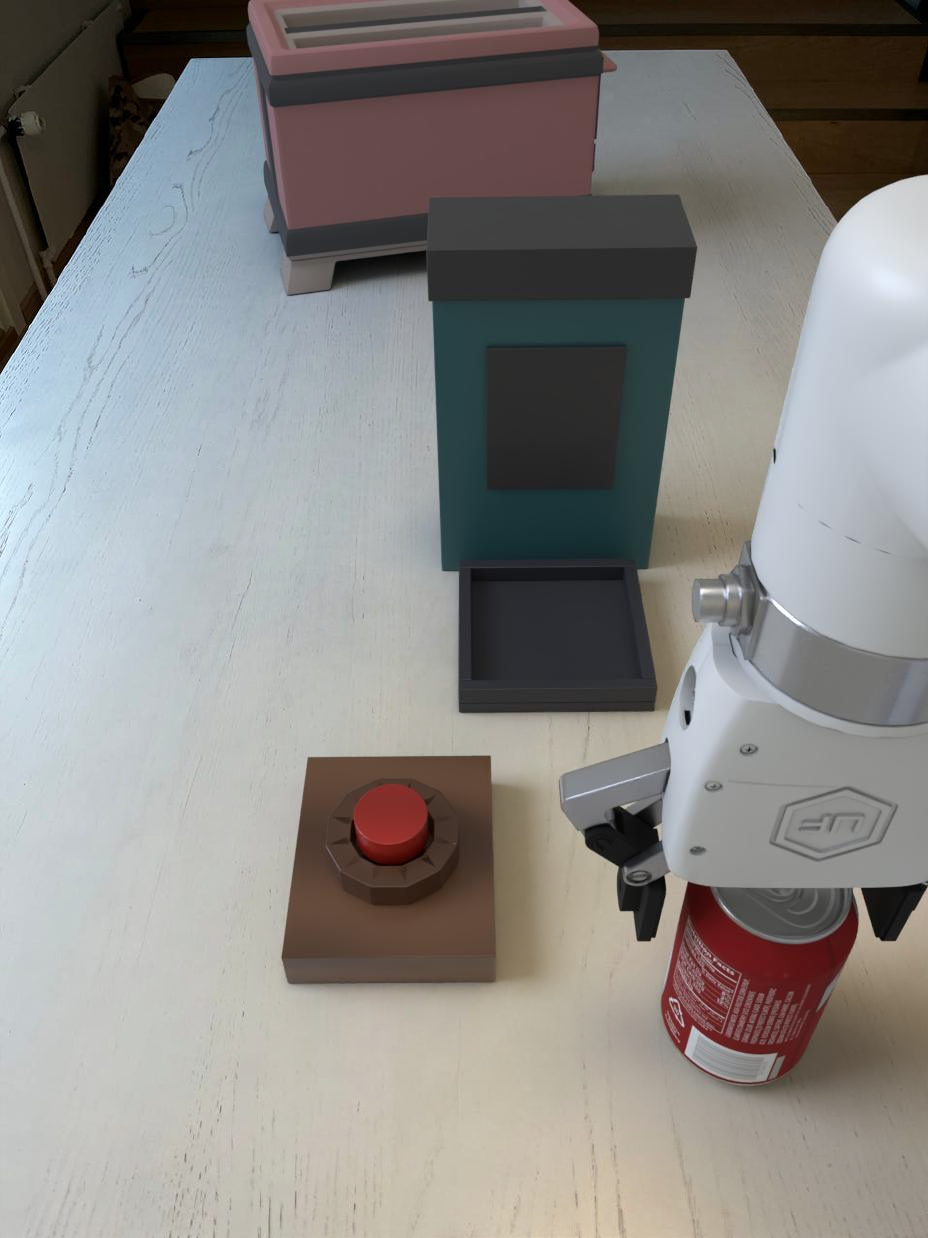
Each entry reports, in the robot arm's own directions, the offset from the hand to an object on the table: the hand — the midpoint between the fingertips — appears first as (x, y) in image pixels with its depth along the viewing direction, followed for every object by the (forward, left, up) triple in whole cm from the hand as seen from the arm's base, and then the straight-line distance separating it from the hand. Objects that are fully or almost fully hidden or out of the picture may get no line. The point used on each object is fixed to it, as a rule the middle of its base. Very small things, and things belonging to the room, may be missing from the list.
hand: (757, 909), depth 45 cm
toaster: (+85, +15, -9) cm, 86 cm away
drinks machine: (+35, +7, -9) cm, 36 cm away
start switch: (+8, +16, -9) cm, 20 cm away
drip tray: (+25, +7, -9) cm, 27 cm away
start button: (+8, +16, -5) cm, 18 cm away
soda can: (0, 0, -9) cm, 9 cm away
